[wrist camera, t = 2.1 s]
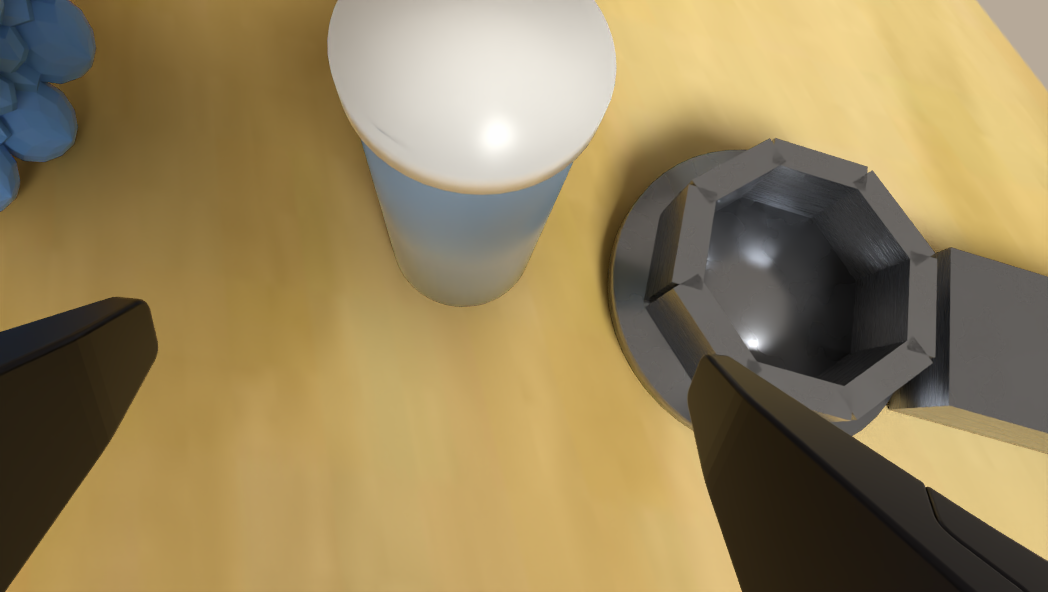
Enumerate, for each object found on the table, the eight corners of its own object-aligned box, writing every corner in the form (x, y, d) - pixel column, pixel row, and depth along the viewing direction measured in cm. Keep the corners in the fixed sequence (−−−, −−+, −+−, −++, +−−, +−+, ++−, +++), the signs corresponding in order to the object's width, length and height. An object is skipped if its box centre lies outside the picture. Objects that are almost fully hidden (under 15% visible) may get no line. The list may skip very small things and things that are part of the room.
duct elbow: (529, 318, 23) (612, 196, 11) (378, 303, 22) (302, 155, 11) (544, 113, 25) (622, -154, 14) (410, 93, 25) (377, -205, 13)
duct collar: (577, 406, 22) (605, 400, 18) (638, 126, 26) (670, 72, 22) (1090, 544, 24) (1215, 564, 20) (1073, 259, 28) (1174, 230, 24)
